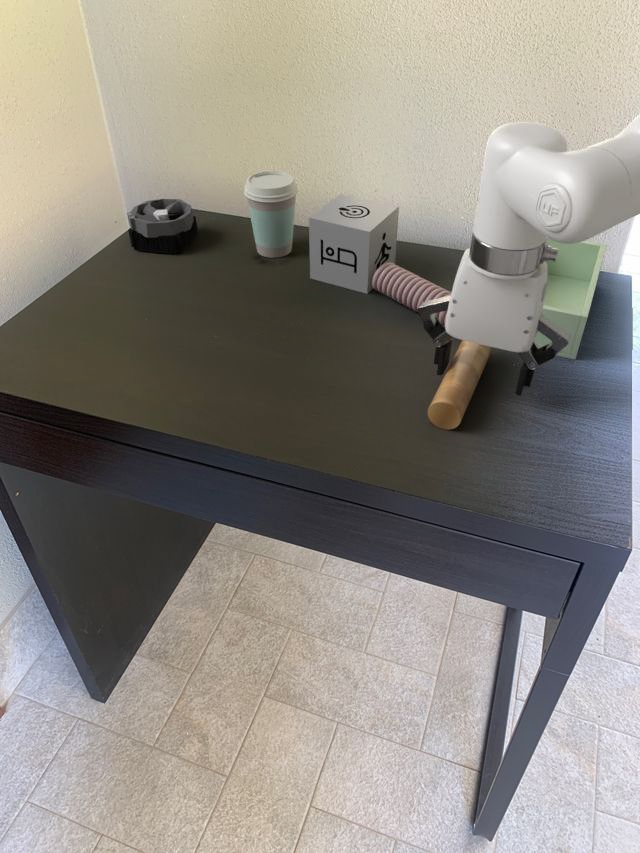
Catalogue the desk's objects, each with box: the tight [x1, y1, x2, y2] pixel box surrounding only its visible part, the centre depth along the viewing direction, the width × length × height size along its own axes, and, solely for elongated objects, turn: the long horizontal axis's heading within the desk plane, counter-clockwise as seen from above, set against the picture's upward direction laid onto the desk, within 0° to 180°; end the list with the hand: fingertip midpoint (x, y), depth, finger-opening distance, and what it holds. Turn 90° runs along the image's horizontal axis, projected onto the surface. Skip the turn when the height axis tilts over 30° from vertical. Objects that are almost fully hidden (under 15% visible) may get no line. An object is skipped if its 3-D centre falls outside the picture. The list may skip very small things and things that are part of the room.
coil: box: [372, 263, 452, 326], centre depth 98 cm, size 5×5×18 cm
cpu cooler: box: [126, 198, 199, 255], centre depth 115 cm, size 10×6×10 cm
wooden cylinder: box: [427, 340, 494, 431], centre depth 84 cm, size 16×4×4 cm
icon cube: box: [308, 193, 400, 295], centre depth 105 cm, size 10×10×10 cm
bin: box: [534, 237, 608, 361], centre depth 97 cm, size 12×22×7 cm, turn 156°
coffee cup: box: [243, 169, 299, 259], centre depth 111 cm, size 9×8×12 cm
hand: (480, 378), depth 83 cm, fingers open, 9 cm apart
